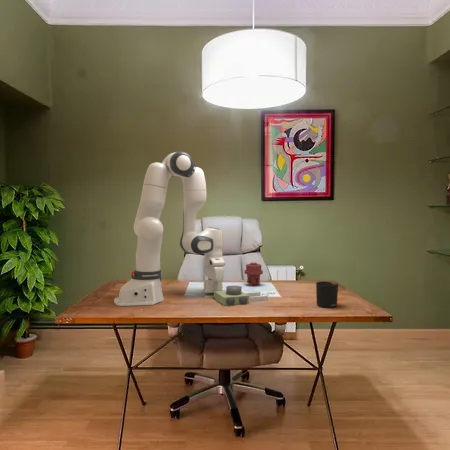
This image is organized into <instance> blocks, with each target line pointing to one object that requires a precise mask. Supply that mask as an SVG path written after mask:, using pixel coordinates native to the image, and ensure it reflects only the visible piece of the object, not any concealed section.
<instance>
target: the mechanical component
mask: <svg viewBox="0 0 450 450" xmlns="http://www.w3.org/2000/svg"><path fill="white" fill-rule="evenodd" d="M263 273H264V271H263V269H262V264H259V263H257V262H253V261H252V262H250V263H247V264H245V270H244V274H245V275H246V276H247V279H246V280H247V281H246V283H247V284H249V287H256V286H255V285H259V286H260V283H261V282H260V281H261V275H262V274H263Z"/></svg>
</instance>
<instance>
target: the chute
mask: <svg viewBox="0 0 450 450" xmlns="http://www.w3.org/2000/svg"><path fill="white" fill-rule="evenodd" d="M213 285H214V280H208V279H204V280H203V291H204V292H205V293H207V294H208V293H214V291H222V290H223V281H222V282H219V283H218V286H217V289H213Z"/></svg>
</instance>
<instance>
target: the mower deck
mask: <svg viewBox="0 0 450 450" xmlns="http://www.w3.org/2000/svg"><path fill="white" fill-rule="evenodd" d="M242 289H243V288H242V286H240V285H227V286H226V289H224V290H223V289H222V291H214V292H213V298H215V299H214V300H215V301H216V302H218V301H219V302H218V303H220V304H221V305H223V306H230V305H232V306H234V304H235V305H246V304H250V302H249V301H253V302H262V301H268V298H269V297H268V295H261V292H260V291H256V292H254V291H253V292H243V291H242Z"/></svg>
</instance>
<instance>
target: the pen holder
mask: <svg viewBox="0 0 450 450" xmlns="http://www.w3.org/2000/svg"><path fill="white" fill-rule="evenodd" d="M315 286H316V287H315V291H316V292H315V293H316V295H315V297H316V298H315V299H316V306H317V307H319V308H325V309H334V308H336V307H337V305H338V295H339V293H338V292H339V283H332V282H330V281H317V282H316V283H315Z"/></svg>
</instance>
